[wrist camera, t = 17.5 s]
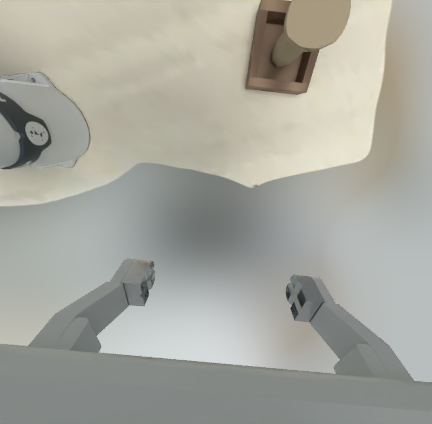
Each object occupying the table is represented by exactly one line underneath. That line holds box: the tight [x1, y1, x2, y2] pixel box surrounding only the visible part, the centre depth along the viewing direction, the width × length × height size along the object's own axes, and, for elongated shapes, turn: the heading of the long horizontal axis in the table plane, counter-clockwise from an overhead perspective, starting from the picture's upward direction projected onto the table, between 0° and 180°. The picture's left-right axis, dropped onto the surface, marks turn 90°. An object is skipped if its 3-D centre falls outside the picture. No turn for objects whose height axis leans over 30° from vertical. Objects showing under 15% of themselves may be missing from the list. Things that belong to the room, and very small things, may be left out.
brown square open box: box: [246, 0, 319, 95], centre depth 30 cm, size 10×10×4 cm
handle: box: [271, 0, 351, 68], centre depth 25 cm, size 5×6×15 cm
